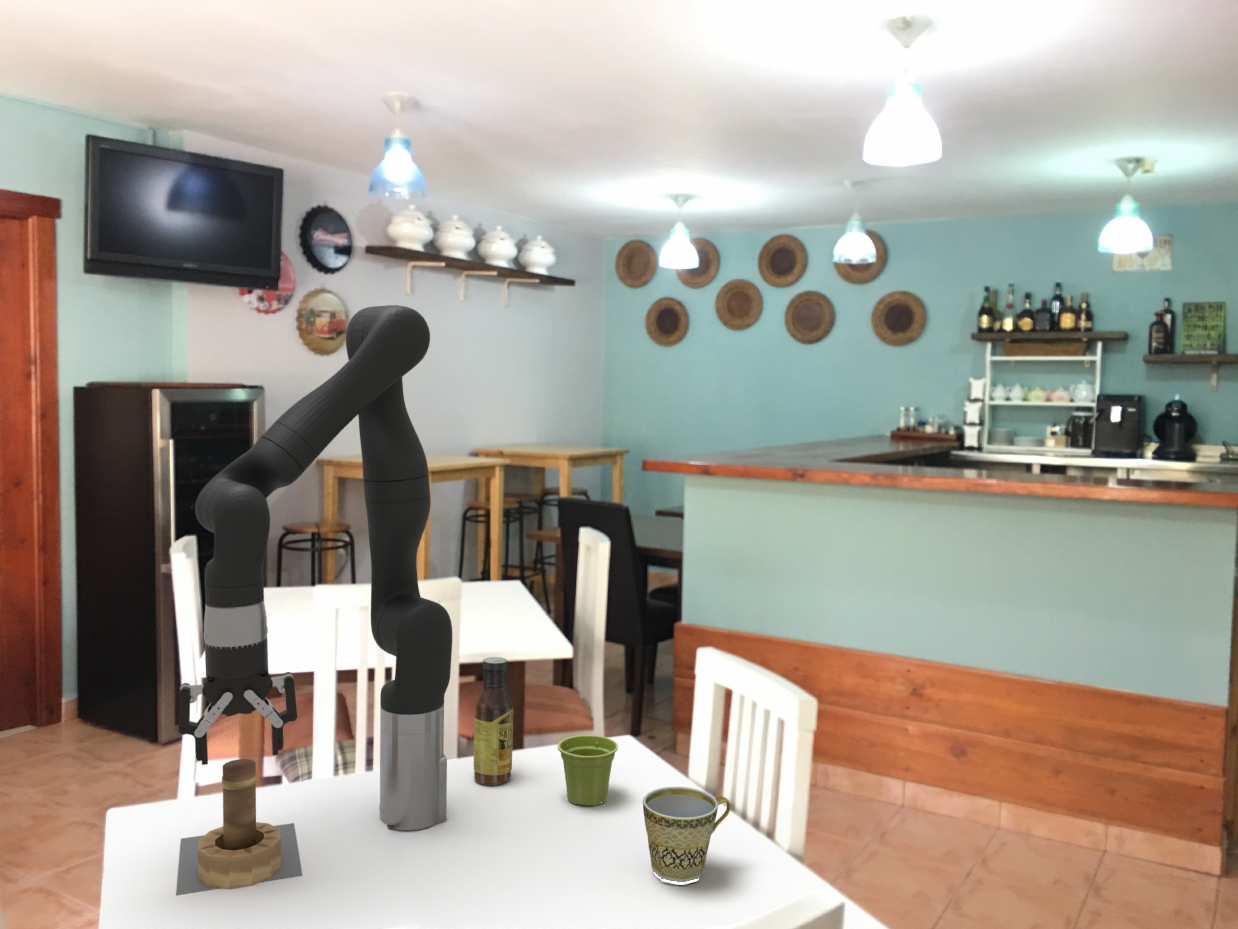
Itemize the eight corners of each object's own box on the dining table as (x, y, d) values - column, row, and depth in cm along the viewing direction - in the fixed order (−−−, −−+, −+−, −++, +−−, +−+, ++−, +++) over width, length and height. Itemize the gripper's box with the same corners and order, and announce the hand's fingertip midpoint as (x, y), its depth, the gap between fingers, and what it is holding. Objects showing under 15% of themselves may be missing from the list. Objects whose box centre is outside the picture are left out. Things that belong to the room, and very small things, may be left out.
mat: (294, 826, 143) (293, 823, 143) (302, 879, 129) (302, 875, 129) (180, 842, 138) (180, 838, 138) (176, 899, 123) (175, 895, 123)
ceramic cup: (664, 899, 126) (666, 824, 125) (627, 864, 135) (629, 793, 134) (748, 878, 132) (751, 805, 131) (708, 846, 141) (710, 778, 140)
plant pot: (545, 795, 156) (546, 741, 156) (594, 782, 162) (595, 730, 161) (578, 817, 149) (579, 761, 148) (628, 802, 154) (630, 748, 154)
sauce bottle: (504, 789, 158) (506, 667, 156) (467, 785, 159) (469, 664, 158) (517, 773, 165) (519, 656, 163) (481, 769, 166) (483, 653, 164)
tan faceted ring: (278, 845, 136) (278, 817, 136) (282, 880, 127) (282, 850, 127) (199, 857, 133) (199, 828, 132) (197, 893, 123) (197, 863, 123)
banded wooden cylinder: (256, 858, 133) (255, 757, 131) (257, 873, 129) (256, 768, 128) (222, 863, 131) (221, 761, 130) (222, 878, 127) (221, 772, 126)
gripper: (292, 624, 133) (295, 740, 135) (176, 634, 128) (181, 754, 130) (296, 638, 126) (299, 761, 128) (174, 649, 121) (179, 777, 123)
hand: (240, 757), depth 129 cm, fingers open, 8 cm apart
